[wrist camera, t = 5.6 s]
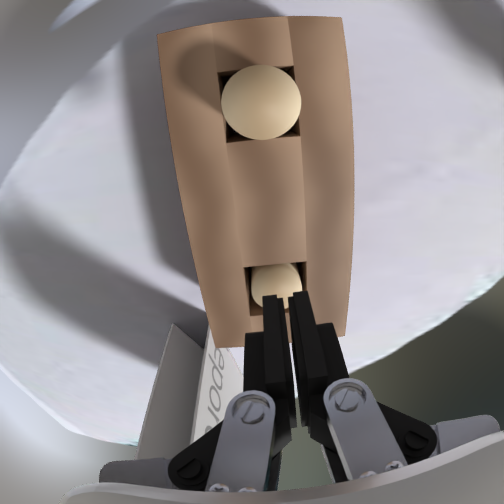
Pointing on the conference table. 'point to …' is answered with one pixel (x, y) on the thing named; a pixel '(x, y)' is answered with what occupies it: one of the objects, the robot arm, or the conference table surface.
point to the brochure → (187, 395)
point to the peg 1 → (261, 102)
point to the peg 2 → (275, 281)
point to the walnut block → (263, 167)
